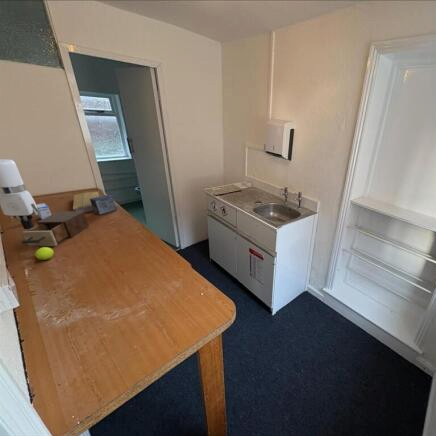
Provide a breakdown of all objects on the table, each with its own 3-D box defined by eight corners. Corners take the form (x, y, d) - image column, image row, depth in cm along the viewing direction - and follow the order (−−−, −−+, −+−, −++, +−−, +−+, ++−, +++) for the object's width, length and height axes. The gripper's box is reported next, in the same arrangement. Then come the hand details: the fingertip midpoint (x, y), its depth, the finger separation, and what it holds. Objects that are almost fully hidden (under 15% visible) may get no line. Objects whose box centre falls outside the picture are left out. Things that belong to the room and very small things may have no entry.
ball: (37, 263, 100) (32, 252, 98) (38, 258, 104) (34, 247, 102) (55, 259, 104) (50, 248, 101) (56, 254, 108) (51, 243, 105)
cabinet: (71, 238, 122) (65, 221, 118) (43, 239, 120) (36, 222, 116) (89, 226, 135) (84, 210, 131) (64, 226, 133) (58, 211, 129)
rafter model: (102, 209, 158) (100, 201, 155) (74, 214, 149) (71, 205, 147) (99, 196, 182) (97, 188, 180) (75, 199, 173) (72, 191, 171)
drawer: (48, 250, 108) (41, 236, 105) (19, 252, 106) (12, 237, 103) (74, 233, 125) (70, 220, 122) (50, 233, 123) (44, 220, 120)
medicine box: (39, 218, 142) (34, 204, 138) (49, 215, 145) (44, 202, 142) (43, 221, 138) (37, 207, 134) (53, 219, 141) (48, 205, 138)
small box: (111, 208, 160) (107, 194, 156) (117, 210, 158) (113, 195, 154) (93, 213, 152) (89, 198, 147) (99, 215, 149) (94, 200, 145)
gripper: (-18, 191, 94) (1, 231, 101) (25, 192, 96) (41, 231, 104) (0, 186, 101) (17, 224, 108) (40, 187, 103) (54, 224, 110)
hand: (29, 227), depth 106 cm, fingers closed
